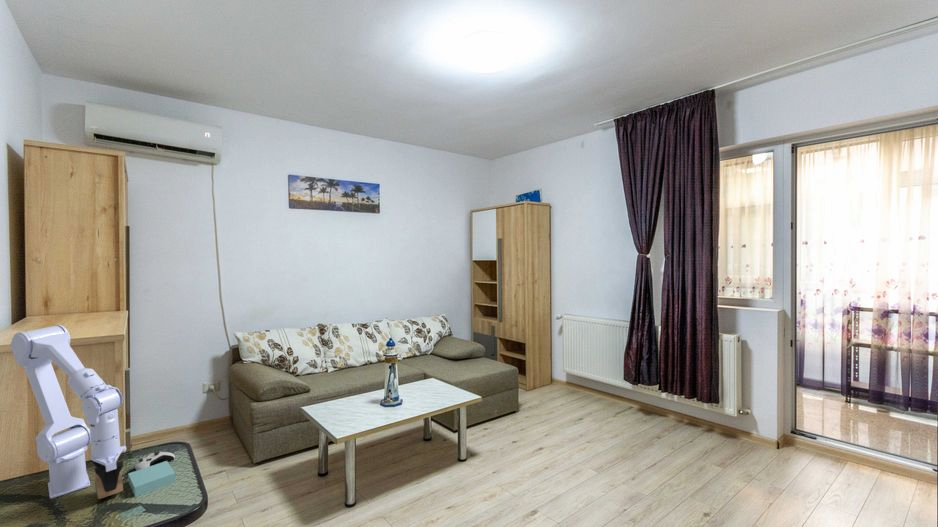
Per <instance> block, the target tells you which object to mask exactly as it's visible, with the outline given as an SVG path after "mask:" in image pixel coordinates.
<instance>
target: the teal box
mask: <svg viewBox="0 0 938 527" xmlns="http://www.w3.org/2000/svg"><path fill="white" fill-rule="evenodd" d="M127 477H128V484H129V486H130V489H131V491H132V493H133V495H134V497H135V498H136V497H138V496H142V495H145V494H147V493H150V492H152V491H155V490H158V489H161V488H162V487H167V486H168V485H172V484H173V483H174V484H175V483H176V473H175V471H174V470H173V468H172V466H171V465H170V463H169V461H162V462H159V463H156V464H154V465H153V464H152V465H150V467H147V468H144V469H141V470H135V471H132V472H129V473H128V474H127Z"/></svg>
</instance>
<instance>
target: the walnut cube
mask: <svg viewBox="0 0 938 527" xmlns="http://www.w3.org/2000/svg"><path fill="white" fill-rule="evenodd" d="M93 474H94V485H95V493H96V497H97V499H98V500H100V499H104V498H107V497H109V496H112V495H114V494H118V493H120V492H121V493H122V492H123V491H124V484H123V483H124V482H123V471H122V470H121V471H120V473H119V477H118V482H117V487H116V489H115V490H112V491H109V492H105V490H104V487H103V484H102V481H101V479H100V477H99V476H98V475H97V474H96V473H95V472H93Z"/></svg>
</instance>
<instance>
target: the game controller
mask: <svg viewBox="0 0 938 527" xmlns="http://www.w3.org/2000/svg"><path fill="white" fill-rule="evenodd" d="M174 459H175V460H176V455H175V454H174V453H172V452H170V451H169V452H168V451H157V452H151V453H150V454H148V455H147V456H145V457H143V458H140V459H138V460H137V461H136V462H135V463H134V469H135V471H137V470H141V469H144V468H147V467H150V466H152V465H153V464H154V463H156V462H158V461H162V462H165V461H167V462H172V461H171V460H174ZM175 460H174V461H175Z"/></svg>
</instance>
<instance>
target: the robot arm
mask: <svg viewBox="0 0 938 527" xmlns="http://www.w3.org/2000/svg"><path fill="white" fill-rule="evenodd" d="M70 344H71V334H70V333H69V331H68V329H67V328H66V327H65V326H64V325H62V324H55V325H53V326H48V327H42V328H36V329H32V330H28V331H27V330H26V331H20V332H19V331H18V332H16V333H15V334H14V335H13V337H12V339H11V342H10V349H11V351H12V354H13V357H14V360H15V361H16V364H17V366H20V367H23V368H24V370H25V373H26V374H25V375H26V377H27V379H28V381H29V384H30V387H31V390H32V392H33V395H34V397H35V400H36V403H37V407H38V408H39V411H40V414H41V417H42V419H43V422H44V424H45V426H44V427H43V428H42V429H41V430H40V432H39V433H38V434H37V435H36V437H35V442H36V453H37V456H38V458H39V459H40V460H42V462H45V463H47V464H48V472H49V482H47V487H48V494H49V495H48V496H49V499H50V500H51V499H55V498H57V497H62V496H64V495H68V494H70V493H73V492H76V491H79V490H82V489H85V488H88V487H90V486H91V482H90V478H89V474H88V471H87V465H86V464H87V463H86V454H85V453H86V451H87V450H88V447H89V445H90V446H91V449H90V450H91V455H90V460H91V462H92V464H93V465H94V466H95V468H94V473H96V474H97V475H98V476H99V477H100V479H101V481H102V484H103V487H104V490H105V492H109V491H112V490H115V489H116V487H117V482H118V477H119V473H120V471H121V472H122V469H123V467H124V465H125V464H124V461H123V460H121V461H119V462H117V461H118V459H119V457H120V456H121V454H122V452H125V451H127V446H126V445H121V437H120V425H119V424H120V423H119V411H118V410H119V408H120V407H121V406H122V405H123V403H124V398H123V394H122V392H121V391H120V389H119V388H118V387H116V386H112V385H110V384H106V383H105V381H104V380H103V378H101V377H100V375H98V374H97V372H96V371H95V370H94V369H93V368H88V367H87V368H86V367H85V366H84V364H83V363H82V362H81V360H80V358H79V357H78V355H77V354H76V352H75V351H74V349H73V348H72V347H71V345H70ZM52 363H54V364H55V365H56V366H57V367H59V369H61V371H62V372H64V373H65V375H66V376H68V380H67V385H68V386H69V387H70V388H71V390H72V391H73V392H74V393H75V395H76V396H77V397H78V398H79V400H81V402H82V405H81V410H82V413H83V414H84V416H85V419H84V418H79V417H75V416H72V414H71V413H70V410H69V407H68V404H67V402H66V399H65V397H64V394H63V391H62V388H61V386H60V383H59V380H58V378H57V375H56V372H55V370H54V367H53V364H52ZM85 421H86V422H85ZM86 423H87V424H88V425H89V427H88V425H87V424H86ZM66 429H68V430H66ZM63 430H65V431H63ZM62 431H63V432H62Z"/></svg>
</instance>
